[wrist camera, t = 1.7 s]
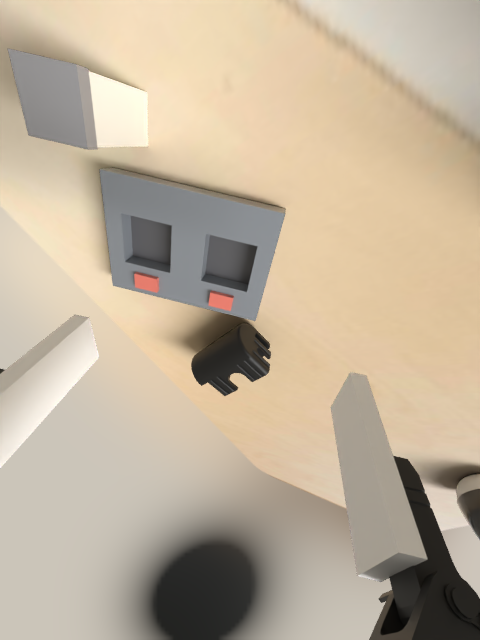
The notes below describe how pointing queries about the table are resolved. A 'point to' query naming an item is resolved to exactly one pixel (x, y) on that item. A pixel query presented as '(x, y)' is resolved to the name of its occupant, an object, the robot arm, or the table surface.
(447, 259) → the table surface
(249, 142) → the table surface
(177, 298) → the socket plate
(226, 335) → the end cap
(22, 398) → the robot arm
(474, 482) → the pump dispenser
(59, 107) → the plug
